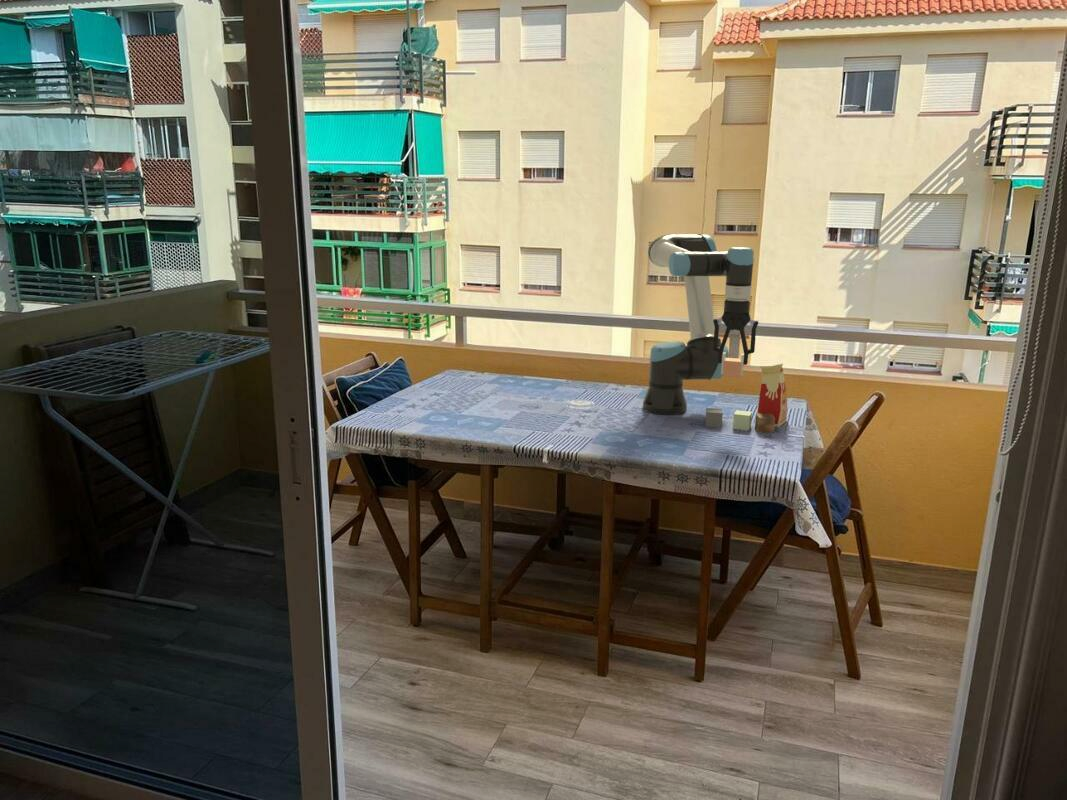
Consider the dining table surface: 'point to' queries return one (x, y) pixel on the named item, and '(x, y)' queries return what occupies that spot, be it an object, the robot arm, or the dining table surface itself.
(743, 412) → the sage block
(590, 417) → the dining table surface
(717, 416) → the grey beige cube
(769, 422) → the walnut block
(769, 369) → the milk carton
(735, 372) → the terracotta block
